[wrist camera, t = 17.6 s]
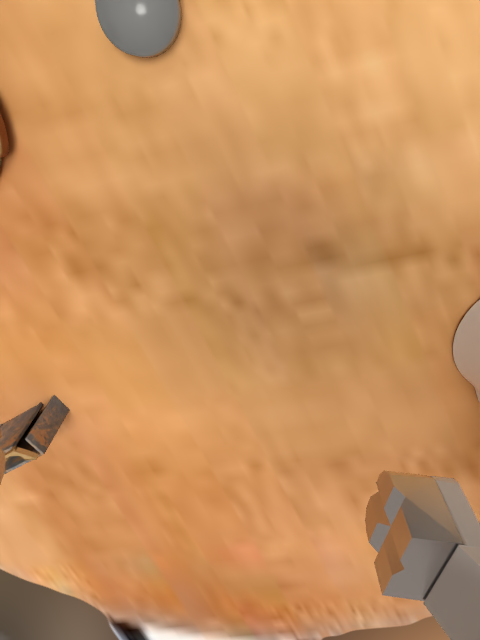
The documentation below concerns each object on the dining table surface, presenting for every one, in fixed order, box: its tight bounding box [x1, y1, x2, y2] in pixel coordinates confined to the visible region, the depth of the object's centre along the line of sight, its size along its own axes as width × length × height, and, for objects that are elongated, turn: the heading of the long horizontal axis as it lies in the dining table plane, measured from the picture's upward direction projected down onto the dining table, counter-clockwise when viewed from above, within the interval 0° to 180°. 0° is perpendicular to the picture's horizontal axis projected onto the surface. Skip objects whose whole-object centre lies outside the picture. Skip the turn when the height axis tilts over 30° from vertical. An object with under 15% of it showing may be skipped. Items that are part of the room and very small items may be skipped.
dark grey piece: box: [0, 395, 69, 474], centre depth 50 cm, size 11×3×10 cm, turn 122°
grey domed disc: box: [95, 0, 182, 58], centre depth 33 cm, size 6×6×2 cm
